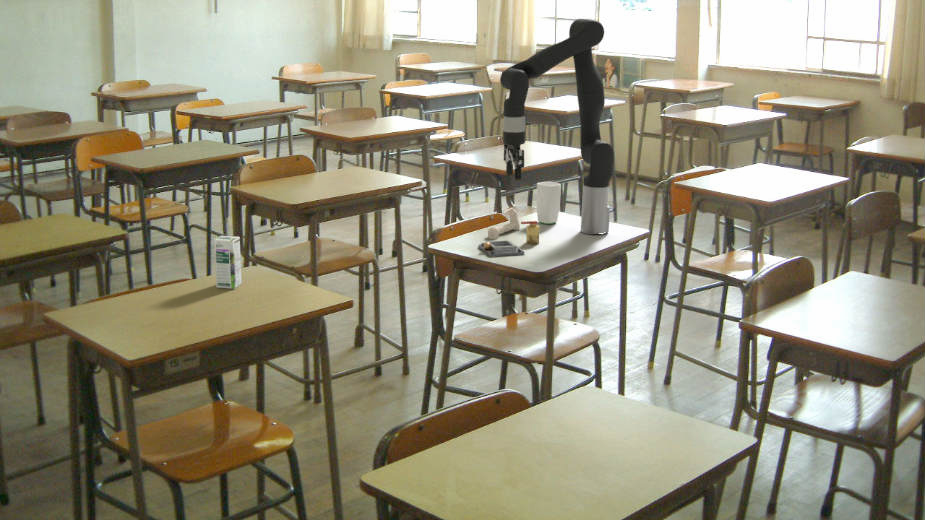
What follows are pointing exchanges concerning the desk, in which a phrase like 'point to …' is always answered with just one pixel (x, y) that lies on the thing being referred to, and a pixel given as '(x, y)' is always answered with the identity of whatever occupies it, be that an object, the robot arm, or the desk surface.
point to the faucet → (513, 225)
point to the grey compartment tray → (500, 248)
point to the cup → (548, 202)
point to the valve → (532, 232)
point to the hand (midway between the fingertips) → (513, 177)
